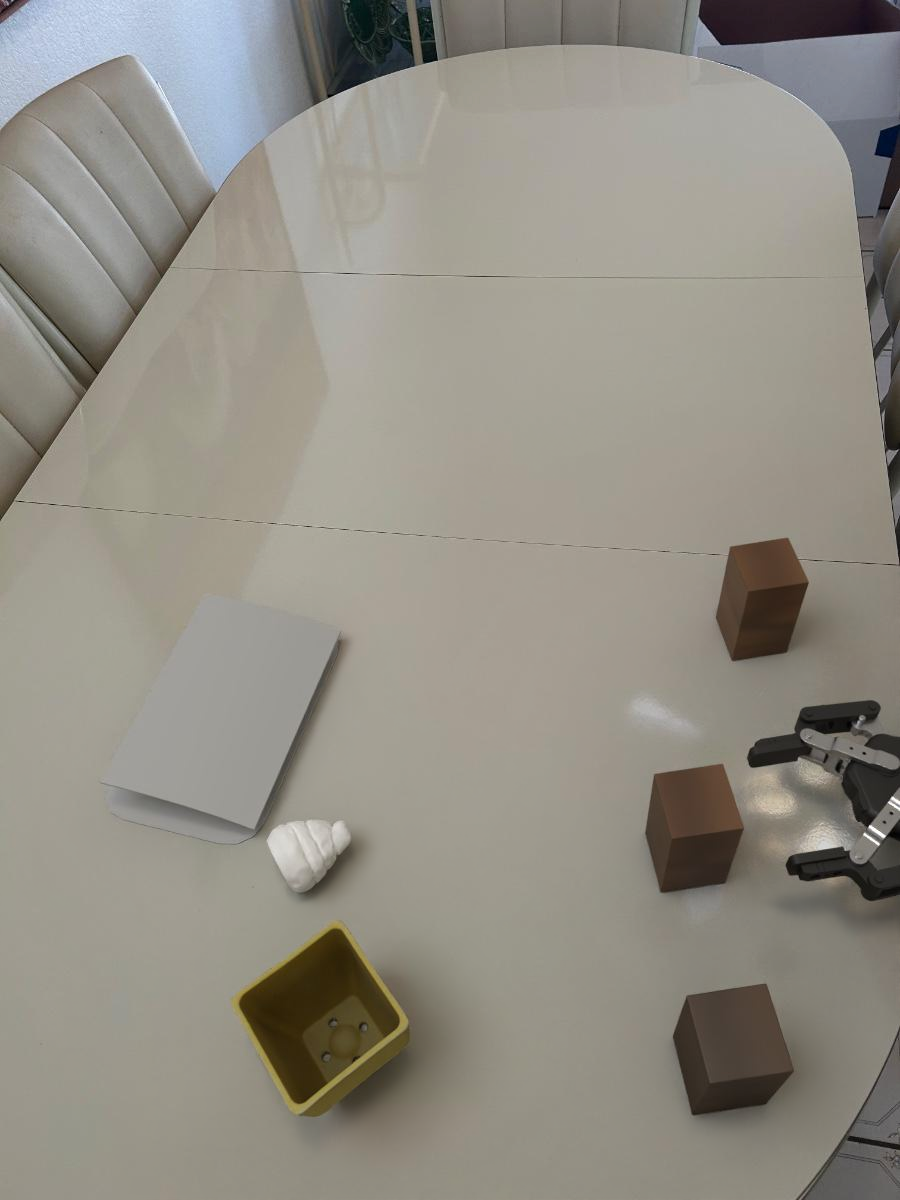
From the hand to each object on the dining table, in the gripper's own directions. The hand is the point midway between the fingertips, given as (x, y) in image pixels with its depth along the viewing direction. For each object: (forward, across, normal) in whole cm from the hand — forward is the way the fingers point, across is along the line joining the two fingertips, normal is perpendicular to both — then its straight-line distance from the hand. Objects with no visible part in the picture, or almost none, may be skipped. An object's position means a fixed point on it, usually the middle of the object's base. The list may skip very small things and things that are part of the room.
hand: (768, 810), depth 67 cm
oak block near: (+7, +15, +7) cm, 18 cm away
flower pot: (+33, +10, +7) cm, 35 cm away
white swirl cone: (+34, -5, +7) cm, 35 cm away
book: (+42, -20, +7) cm, 47 cm away
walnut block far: (-6, -20, +7) cm, 22 cm away
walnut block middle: (+5, 0, +7) cm, 9 cm away
